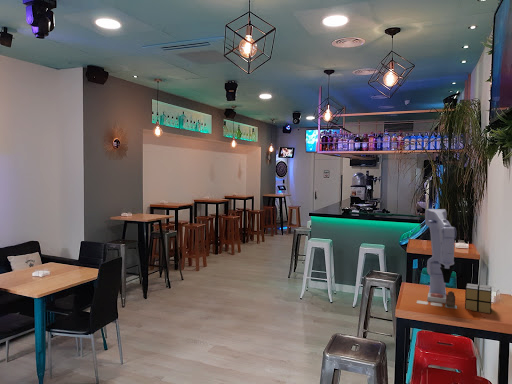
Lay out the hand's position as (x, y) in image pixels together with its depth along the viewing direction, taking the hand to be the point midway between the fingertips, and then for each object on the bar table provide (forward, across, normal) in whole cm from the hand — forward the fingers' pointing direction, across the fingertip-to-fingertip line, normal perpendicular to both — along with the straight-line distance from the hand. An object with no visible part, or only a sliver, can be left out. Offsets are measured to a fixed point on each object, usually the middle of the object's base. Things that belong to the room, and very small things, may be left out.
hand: (446, 280), depth 184 cm
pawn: (+10, +7, +2) cm, 12 cm away
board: (+10, +7, -4) cm, 13 cm away
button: (+10, -1, -4) cm, 11 cm away
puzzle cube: (+11, +3, +13) cm, 17 cm away
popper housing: (+10, -1, -4) cm, 11 cm away
